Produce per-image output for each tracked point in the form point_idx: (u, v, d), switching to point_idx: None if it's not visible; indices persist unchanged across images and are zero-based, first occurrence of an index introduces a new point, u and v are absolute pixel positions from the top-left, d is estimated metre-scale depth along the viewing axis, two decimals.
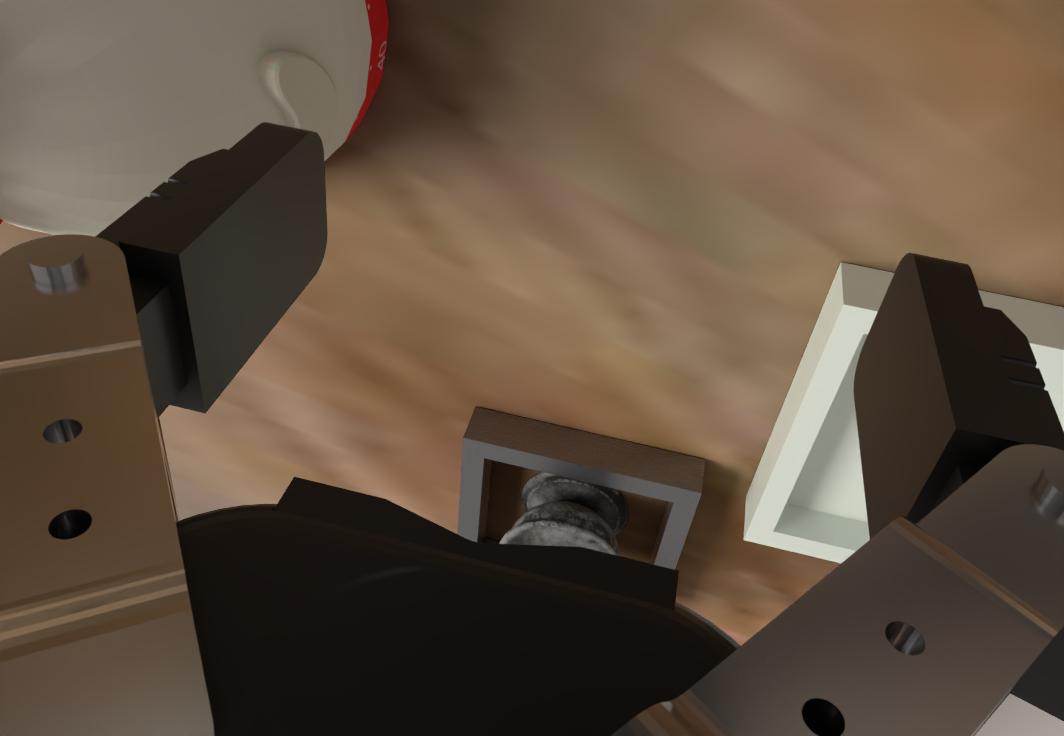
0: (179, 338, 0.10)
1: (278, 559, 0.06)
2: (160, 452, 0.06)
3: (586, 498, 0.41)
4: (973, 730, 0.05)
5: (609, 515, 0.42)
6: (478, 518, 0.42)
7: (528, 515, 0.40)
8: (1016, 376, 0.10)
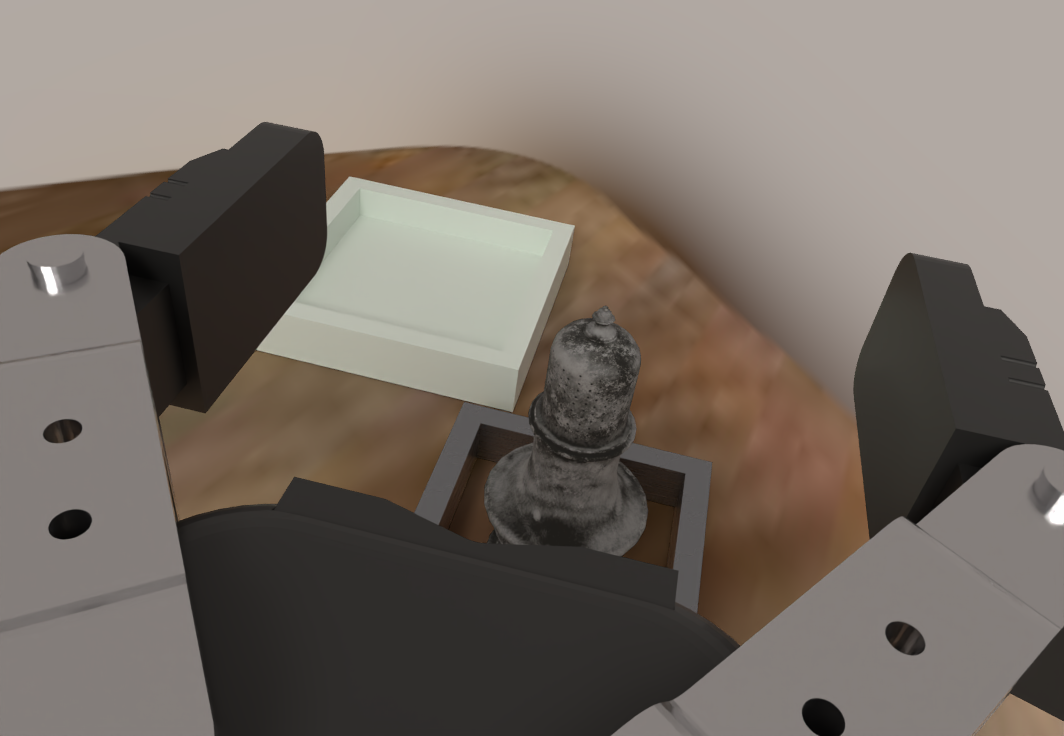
0: (179, 338, 0.10)
1: (278, 559, 0.06)
2: (160, 452, 0.06)
3: None
4: (973, 730, 0.05)
5: None
6: None
7: (501, 541, 0.31)
8: (1016, 376, 0.10)
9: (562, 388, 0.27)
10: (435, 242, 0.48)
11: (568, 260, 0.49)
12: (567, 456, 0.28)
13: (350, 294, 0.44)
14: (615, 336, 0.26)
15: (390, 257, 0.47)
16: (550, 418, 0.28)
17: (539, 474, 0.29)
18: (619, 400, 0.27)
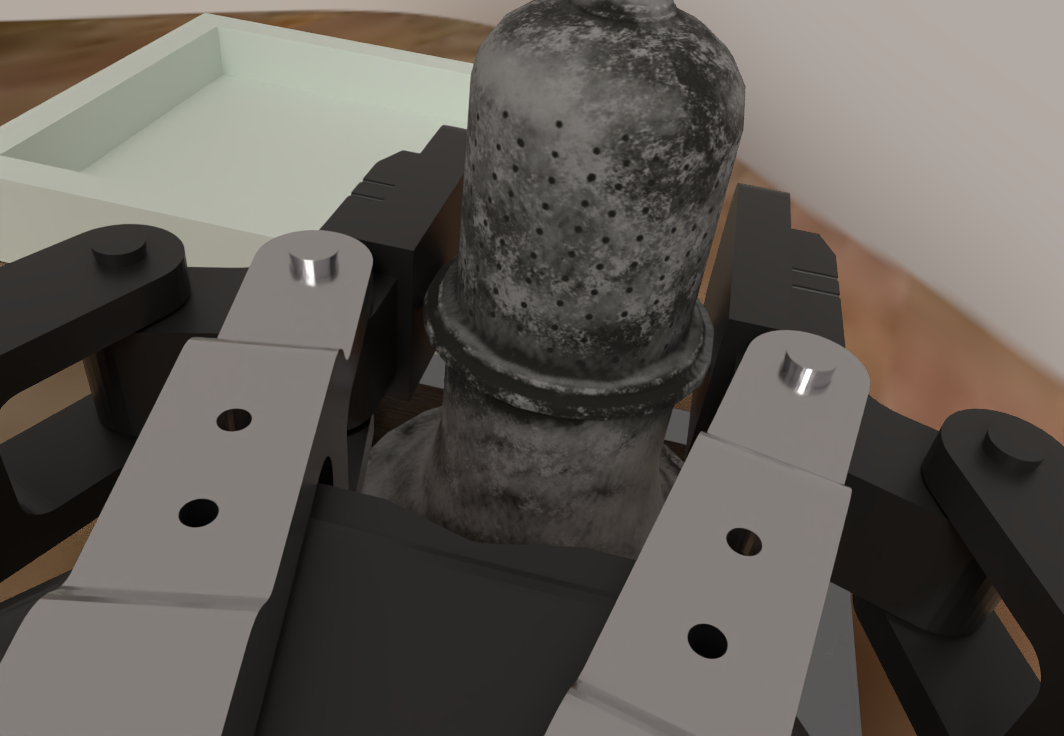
0: (399, 330, 0.10)
1: None
2: (305, 466, 0.06)
3: None
4: (822, 602, 0.06)
5: None
6: None
7: None
8: (815, 287, 0.11)
9: (503, 182, 0.08)
10: (337, 110, 0.30)
11: None
12: (525, 405, 0.09)
13: (177, 173, 0.26)
14: (671, 8, 0.08)
15: (259, 127, 0.28)
16: (475, 296, 0.10)
17: (458, 464, 0.11)
18: (682, 222, 0.09)
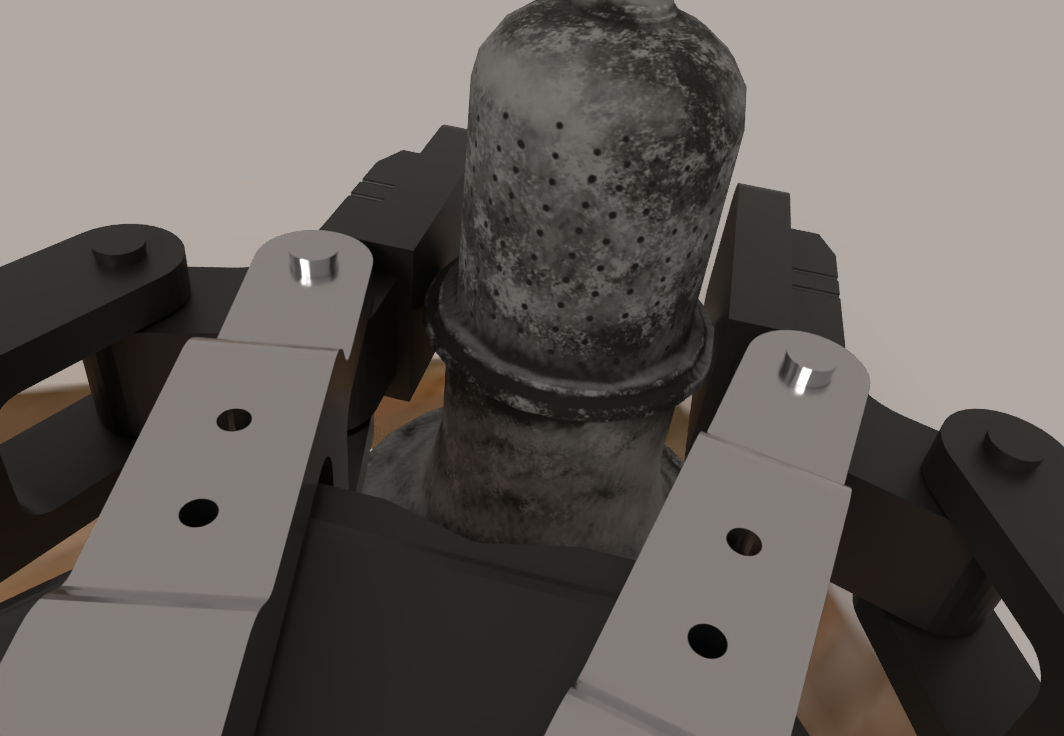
0: (398, 329, 0.10)
1: None
2: (305, 466, 0.06)
3: None
4: (823, 602, 0.06)
5: None
6: None
7: None
8: (814, 287, 0.11)
9: (503, 183, 0.08)
10: None
11: None
12: (526, 407, 0.09)
13: None
14: (671, 9, 0.08)
15: None
16: (476, 298, 0.10)
17: (458, 465, 0.11)
18: (683, 224, 0.08)
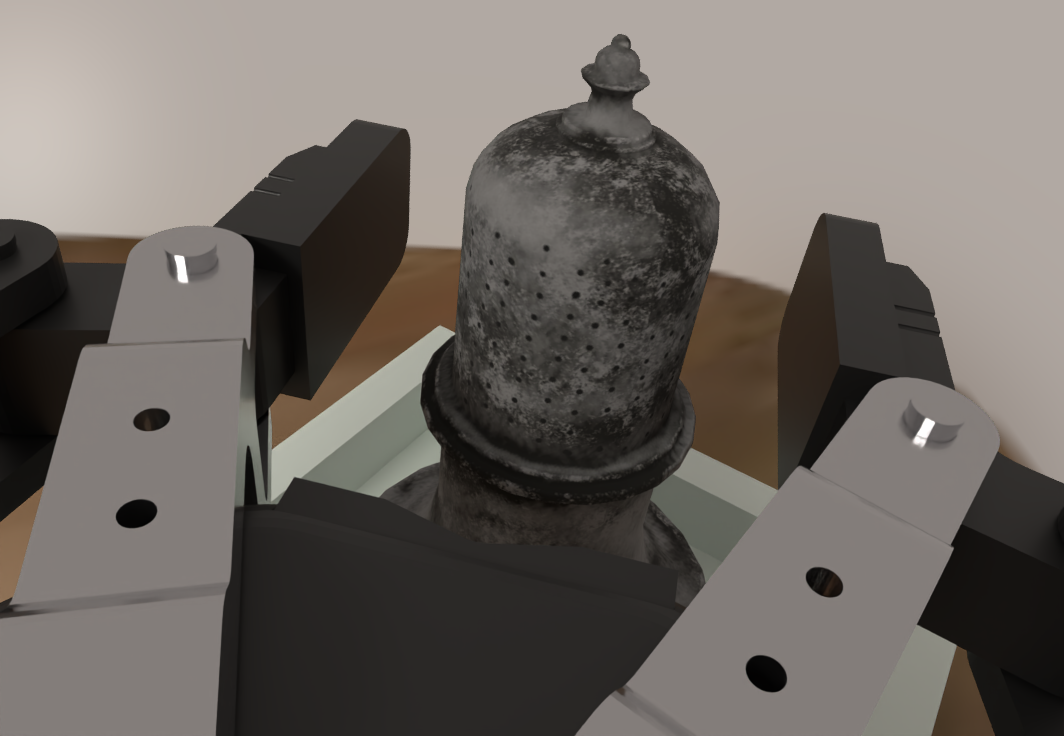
0: (292, 327, 0.10)
1: (278, 559, 0.06)
2: (235, 454, 0.06)
3: None
4: (898, 657, 0.05)
5: None
6: None
7: None
8: (913, 324, 0.10)
9: (495, 292, 0.09)
10: None
11: None
12: (516, 490, 0.10)
13: None
14: (650, 137, 0.09)
15: None
16: (469, 388, 0.10)
17: None
18: (660, 330, 0.09)
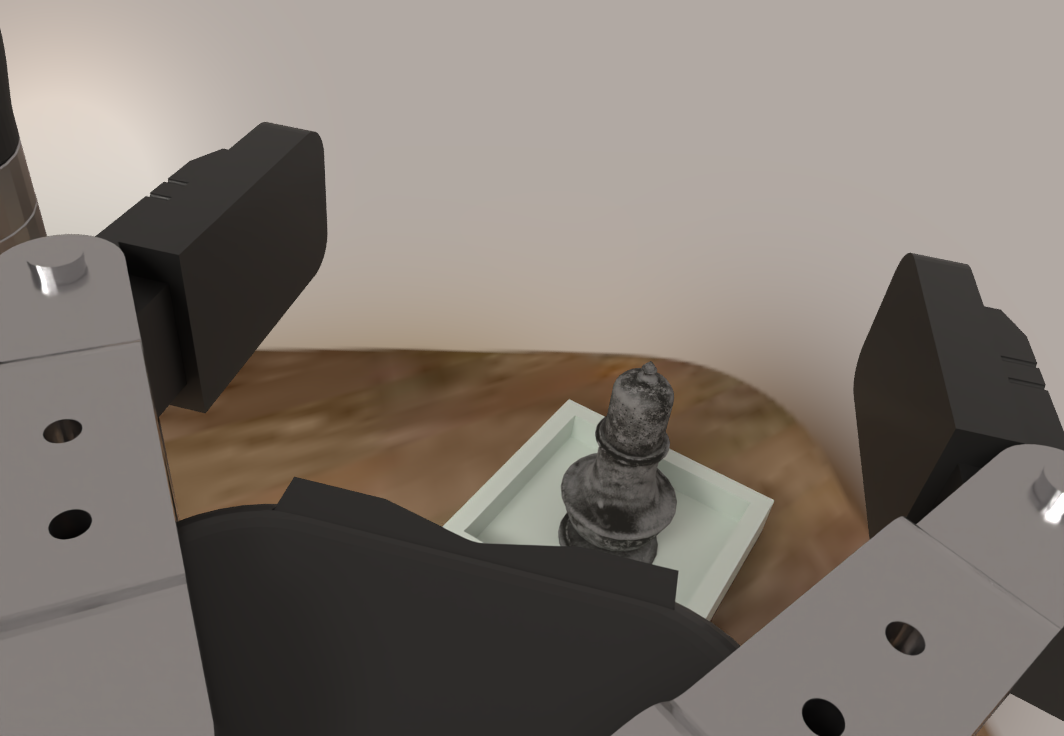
0: (179, 338, 0.10)
1: (278, 559, 0.06)
2: (160, 452, 0.06)
3: None
4: (973, 731, 0.05)
5: None
6: None
7: (574, 523, 0.43)
8: (1016, 377, 0.10)
9: (621, 416, 0.39)
10: None
11: (762, 529, 0.48)
12: (624, 462, 0.40)
13: (540, 530, 0.46)
14: (657, 380, 0.39)
15: None
16: (611, 437, 0.41)
17: (602, 476, 0.42)
18: (660, 424, 0.40)
